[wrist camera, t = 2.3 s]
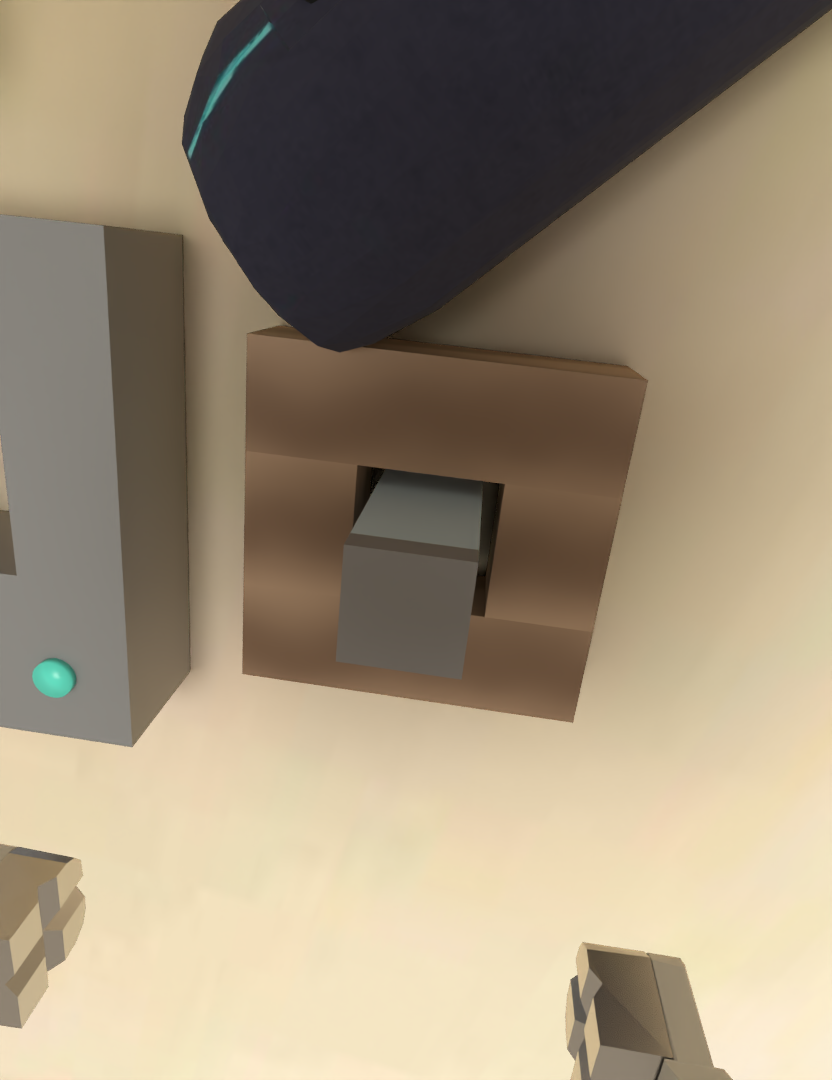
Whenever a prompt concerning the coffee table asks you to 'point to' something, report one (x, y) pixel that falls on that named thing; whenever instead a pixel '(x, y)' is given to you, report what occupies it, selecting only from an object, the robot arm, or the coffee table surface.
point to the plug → (411, 575)
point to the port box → (92, 478)
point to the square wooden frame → (446, 450)
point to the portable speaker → (438, 133)
